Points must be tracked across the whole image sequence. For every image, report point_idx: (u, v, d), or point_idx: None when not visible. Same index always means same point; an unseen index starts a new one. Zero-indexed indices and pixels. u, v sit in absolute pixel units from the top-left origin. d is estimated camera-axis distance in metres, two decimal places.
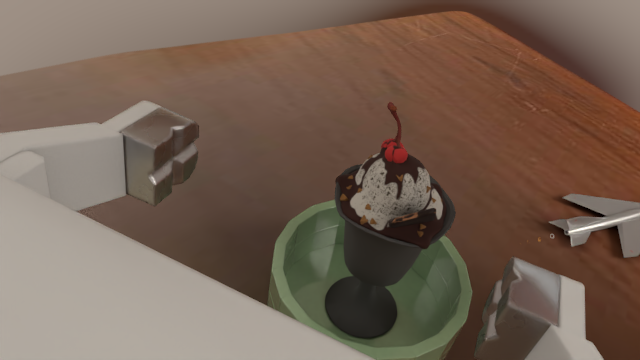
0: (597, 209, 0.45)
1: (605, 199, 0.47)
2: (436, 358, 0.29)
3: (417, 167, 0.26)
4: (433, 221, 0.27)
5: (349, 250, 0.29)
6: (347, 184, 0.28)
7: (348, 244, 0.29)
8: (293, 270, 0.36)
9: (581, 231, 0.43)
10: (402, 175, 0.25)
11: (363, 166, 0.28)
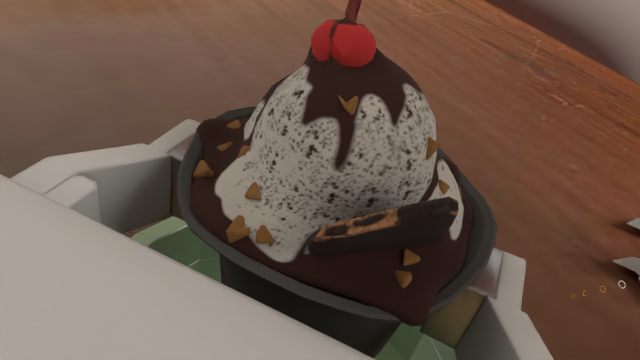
0: None
1: None
2: None
3: (402, 83, 0.09)
4: (441, 244, 0.09)
5: None
6: (221, 139, 0.11)
7: None
8: None
9: None
10: (356, 98, 0.08)
11: (265, 95, 0.11)
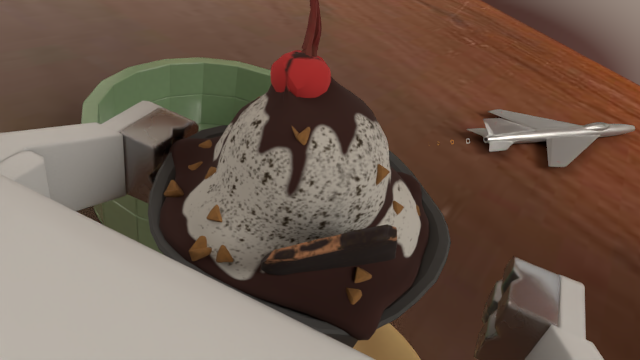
0: (525, 124, 0.40)
1: (536, 117, 0.41)
2: None
3: (355, 113, 0.09)
4: (393, 262, 0.10)
5: None
6: (193, 159, 0.12)
7: None
8: None
9: (503, 139, 0.37)
10: (309, 129, 0.09)
11: (234, 118, 0.12)
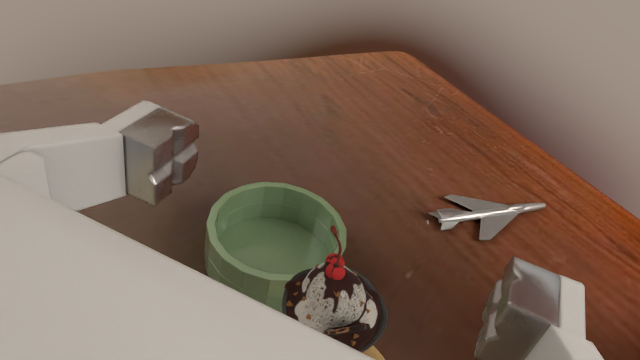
0: (468, 206, 0.60)
1: (477, 200, 0.61)
2: None
3: (353, 284, 0.30)
4: (366, 330, 0.30)
5: None
6: (294, 290, 0.32)
7: None
8: (227, 232, 0.49)
9: (451, 220, 0.57)
10: (339, 291, 0.29)
11: (309, 275, 0.32)
